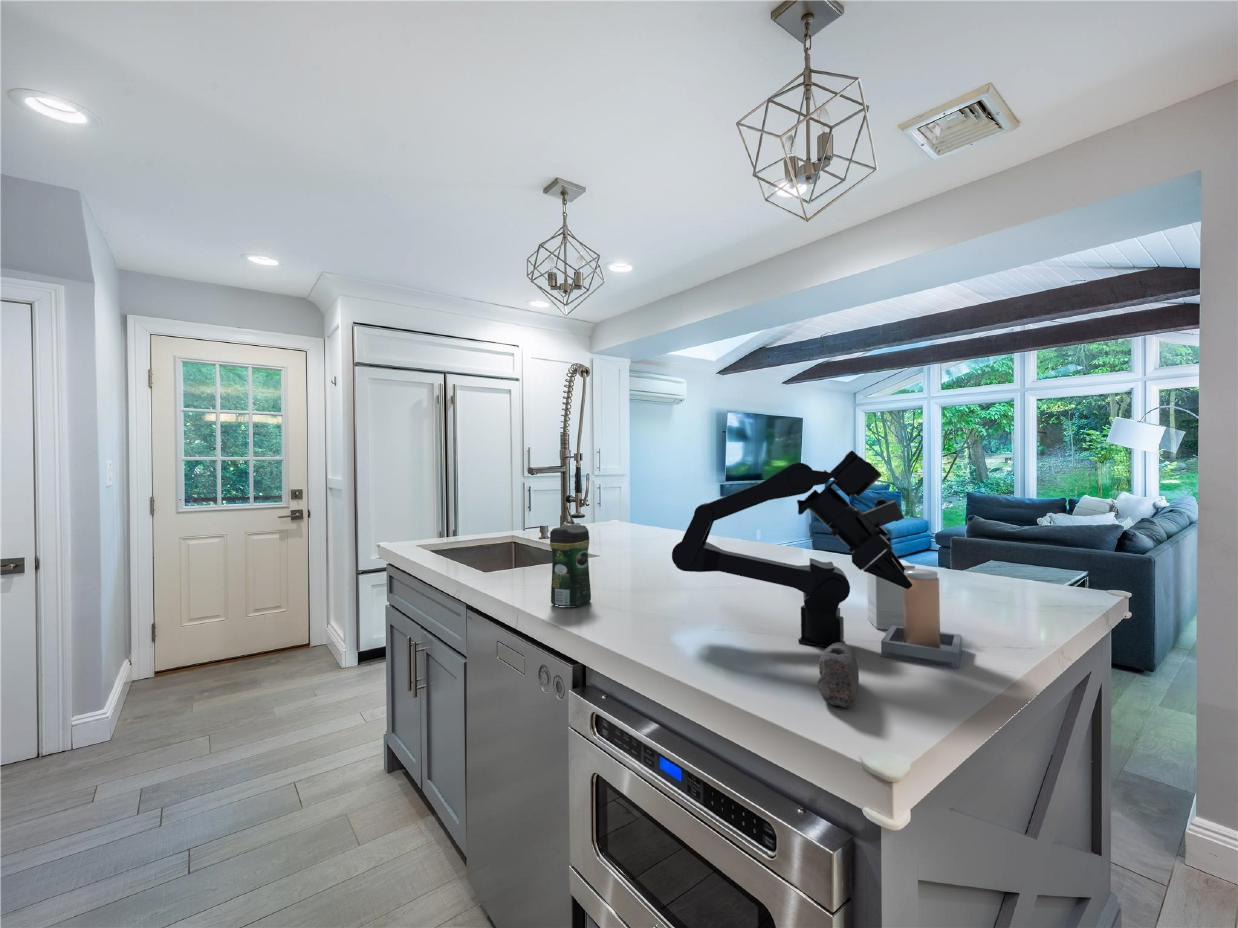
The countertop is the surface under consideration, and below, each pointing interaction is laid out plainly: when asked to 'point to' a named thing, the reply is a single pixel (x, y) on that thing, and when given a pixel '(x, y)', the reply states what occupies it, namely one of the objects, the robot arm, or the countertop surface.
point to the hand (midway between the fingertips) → (908, 581)
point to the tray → (922, 649)
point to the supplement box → (885, 601)
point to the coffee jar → (570, 565)
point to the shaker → (922, 608)
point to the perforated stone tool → (838, 675)
